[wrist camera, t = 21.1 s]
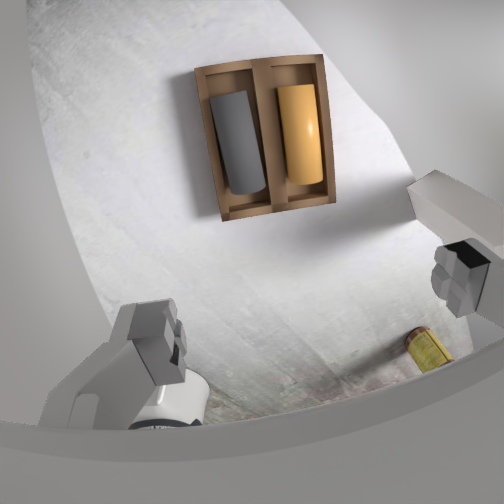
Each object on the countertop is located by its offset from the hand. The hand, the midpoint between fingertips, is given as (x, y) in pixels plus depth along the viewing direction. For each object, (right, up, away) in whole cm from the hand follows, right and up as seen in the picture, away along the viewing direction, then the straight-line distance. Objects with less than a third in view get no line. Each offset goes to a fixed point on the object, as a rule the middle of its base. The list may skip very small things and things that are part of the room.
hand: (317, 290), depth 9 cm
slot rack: (0, +15, +27) cm, 31 cm away
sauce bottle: (+31, -16, +48) cm, 59 cm away
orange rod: (+4, +15, +27) cm, 31 cm away
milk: (+24, +10, +34) cm, 42 cm away
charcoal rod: (-3, +14, +26) cm, 30 cm away
